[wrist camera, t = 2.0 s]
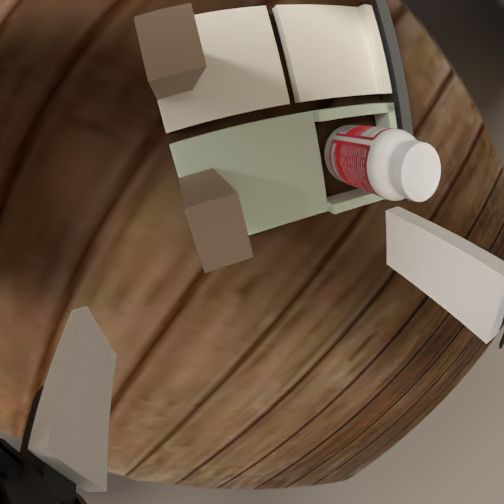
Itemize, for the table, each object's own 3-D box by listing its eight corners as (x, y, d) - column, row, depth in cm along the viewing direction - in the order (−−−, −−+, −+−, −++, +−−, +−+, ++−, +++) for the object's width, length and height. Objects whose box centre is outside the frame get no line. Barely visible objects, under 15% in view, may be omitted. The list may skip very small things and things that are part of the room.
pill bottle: (351, 192, 31) (421, 226, 21) (310, 159, 28) (380, 182, 18) (379, 148, 30) (455, 166, 20) (342, 112, 27) (420, 115, 17)
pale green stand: (199, 245, 29) (218, 312, 19) (169, 143, 24) (167, 154, 14) (389, 188, 32) (462, 219, 22) (379, 102, 27) (460, 106, 17)
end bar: (391, 195, 32) (407, 201, 30) (358, 4, 22) (374, -3, 19) (400, 192, 33) (416, 198, 30) (369, 5, 22) (385, -2, 20)
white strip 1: (166, 133, 24) (162, 136, 14) (141, 32, 19) (126, -24, 9) (285, 104, 25) (353, 97, 15) (261, 9, 21) (314, -43, 11)
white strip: (295, 102, 25) (305, 101, 23) (272, 9, 21) (280, 0, 19) (378, 93, 27) (392, 93, 24) (358, 10, 22) (371, 5, 20)
